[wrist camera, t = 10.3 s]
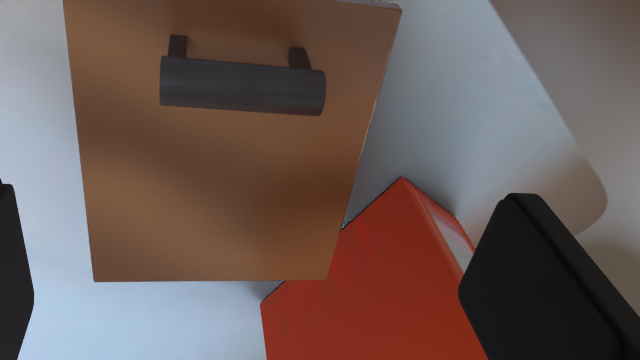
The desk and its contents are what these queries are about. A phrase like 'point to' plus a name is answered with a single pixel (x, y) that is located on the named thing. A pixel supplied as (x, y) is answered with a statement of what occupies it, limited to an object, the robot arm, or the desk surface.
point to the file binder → (381, 290)
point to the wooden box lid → (222, 131)
